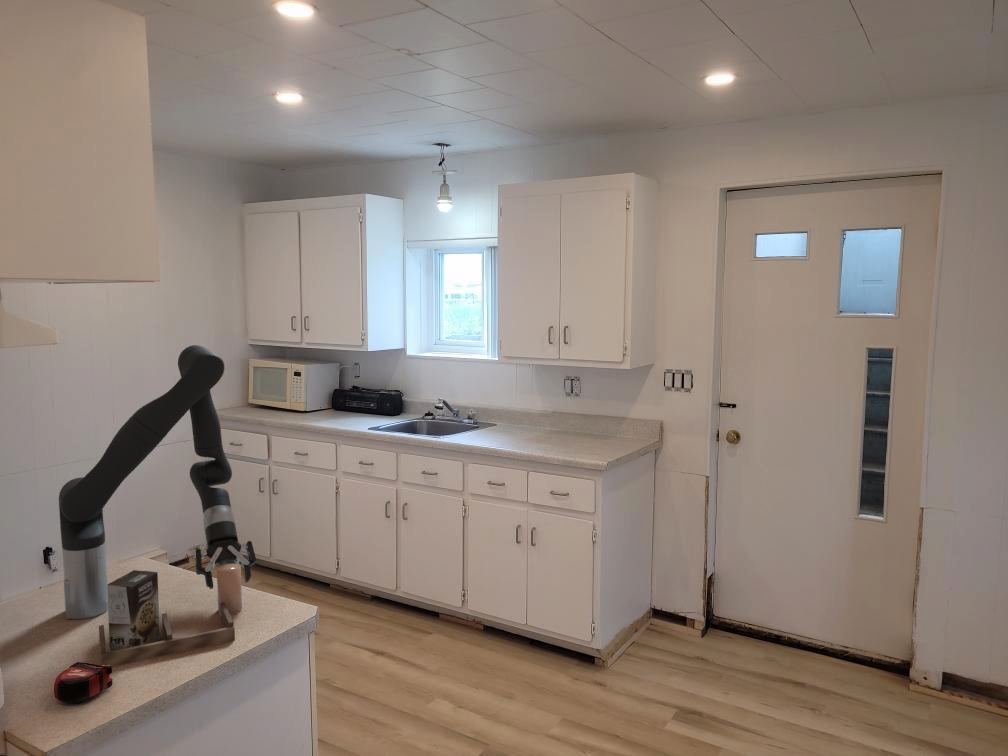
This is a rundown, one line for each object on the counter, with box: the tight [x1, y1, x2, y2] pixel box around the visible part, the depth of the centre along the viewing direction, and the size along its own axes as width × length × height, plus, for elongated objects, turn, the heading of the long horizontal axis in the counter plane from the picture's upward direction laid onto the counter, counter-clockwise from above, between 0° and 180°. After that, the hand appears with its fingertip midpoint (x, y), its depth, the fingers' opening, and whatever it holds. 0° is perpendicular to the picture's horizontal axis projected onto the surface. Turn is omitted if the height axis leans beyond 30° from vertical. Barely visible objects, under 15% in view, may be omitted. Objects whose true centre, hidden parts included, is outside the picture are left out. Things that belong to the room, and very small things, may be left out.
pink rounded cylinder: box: [216, 563, 243, 615], centre depth 186 cm, size 6×6×11 cm
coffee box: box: [107, 569, 161, 652], centre depth 167 cm, size 9×6×16 cm
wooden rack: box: [98, 602, 236, 667], centre depth 170 cm, size 27×13×4 cm, turn 120°
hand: (229, 584), depth 187 cm, fingers open, 8 cm apart
